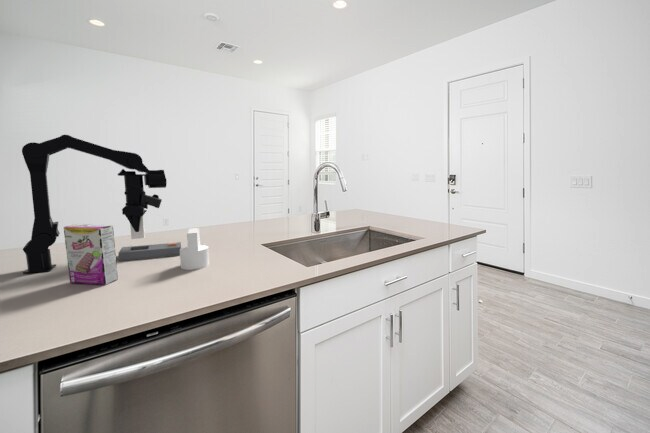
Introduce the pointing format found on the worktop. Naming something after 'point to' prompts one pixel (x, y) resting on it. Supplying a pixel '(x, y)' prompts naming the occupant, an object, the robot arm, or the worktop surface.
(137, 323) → the worktop surface
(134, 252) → the grey board with hole
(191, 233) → the cylinder with rectangular tab
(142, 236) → the plug block
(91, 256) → the candy bar box
